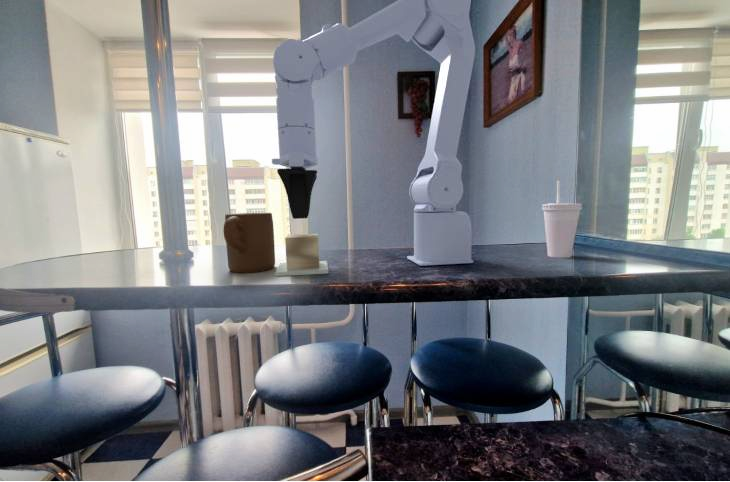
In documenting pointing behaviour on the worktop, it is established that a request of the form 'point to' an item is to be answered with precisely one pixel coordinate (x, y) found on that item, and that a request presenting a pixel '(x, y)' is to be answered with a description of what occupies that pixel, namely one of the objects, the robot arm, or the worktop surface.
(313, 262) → the oak block
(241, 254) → the mug
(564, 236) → the smoothie
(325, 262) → the coaster
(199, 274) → the worktop surface
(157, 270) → the worktop surface
